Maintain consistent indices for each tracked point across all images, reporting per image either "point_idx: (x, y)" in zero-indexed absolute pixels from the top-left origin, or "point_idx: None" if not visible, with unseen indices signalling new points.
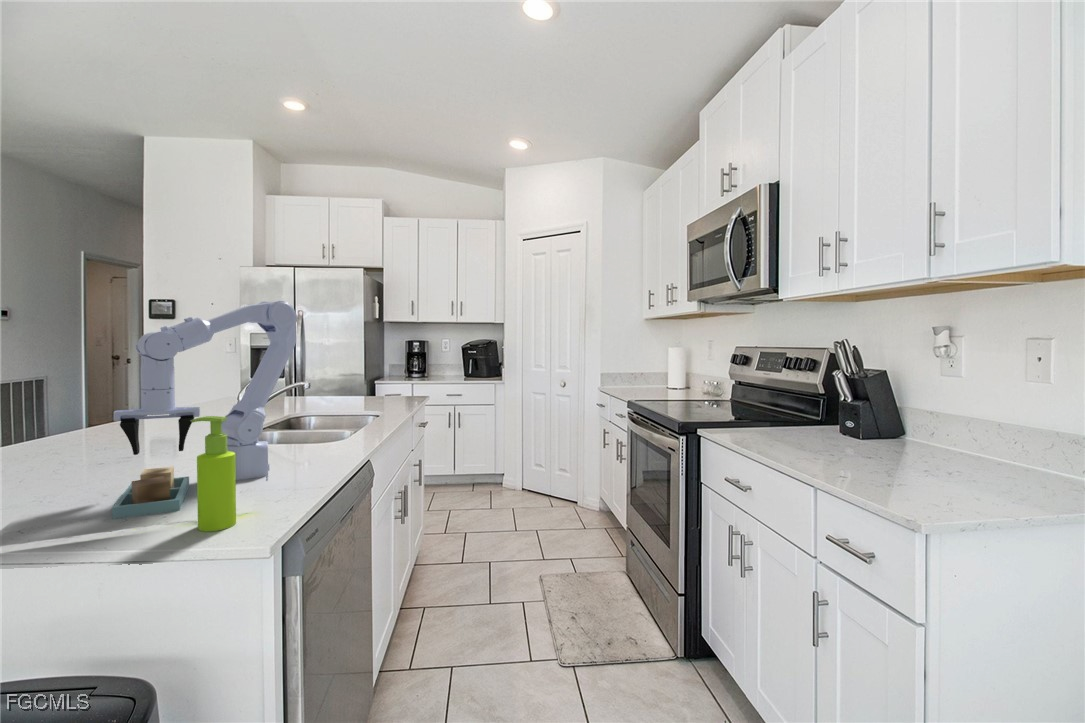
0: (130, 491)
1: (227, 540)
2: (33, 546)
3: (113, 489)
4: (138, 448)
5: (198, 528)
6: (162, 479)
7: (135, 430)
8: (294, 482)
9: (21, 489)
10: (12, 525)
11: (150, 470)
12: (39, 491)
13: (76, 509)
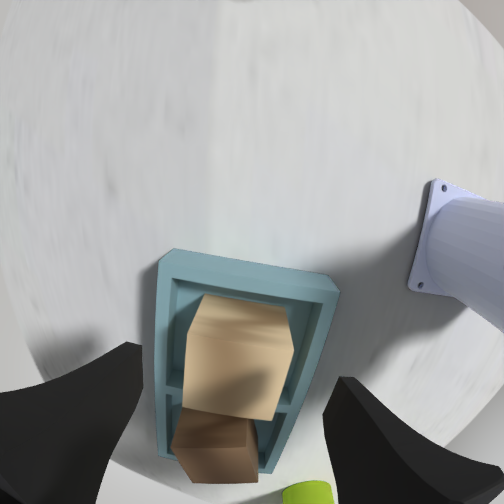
0: (167, 360)
1: None
2: None
3: (127, 124)
4: (132, 384)
5: (282, 495)
6: (243, 467)
7: (90, 495)
8: (497, 339)
9: (7, 49)
10: (23, 330)
11: (209, 363)
12: (18, 74)
13: (75, 296)
